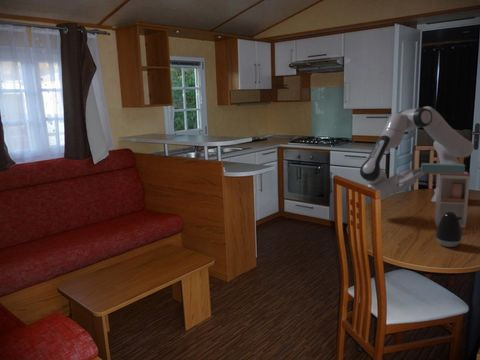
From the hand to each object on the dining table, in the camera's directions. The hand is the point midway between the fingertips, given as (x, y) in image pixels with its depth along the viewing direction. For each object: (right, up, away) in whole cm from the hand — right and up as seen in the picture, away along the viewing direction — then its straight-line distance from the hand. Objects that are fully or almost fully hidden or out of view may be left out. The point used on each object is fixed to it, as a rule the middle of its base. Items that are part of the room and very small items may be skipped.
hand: (423, 170), depth 207 cm
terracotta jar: (+15, -14, -3) cm, 21 cm away
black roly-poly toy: (0, -34, -25) cm, 42 cm away
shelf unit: (+14, -27, +1) cm, 30 cm away
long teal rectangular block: (+8, -1, -3) cm, 9 cm away
